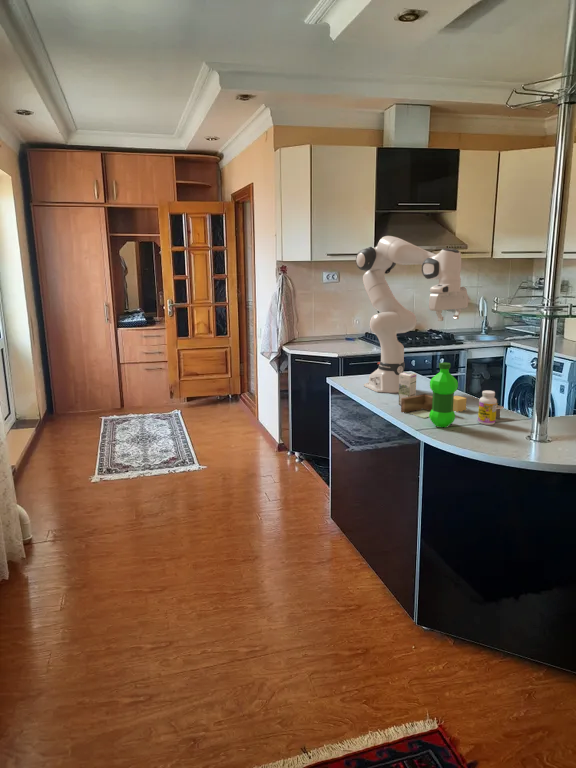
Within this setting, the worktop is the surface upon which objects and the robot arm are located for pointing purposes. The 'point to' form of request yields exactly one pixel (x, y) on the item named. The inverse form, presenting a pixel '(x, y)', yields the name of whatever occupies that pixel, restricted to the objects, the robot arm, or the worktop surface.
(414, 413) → the pad
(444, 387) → the plastic bottle
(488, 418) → the supplement bottle
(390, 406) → the worktop surface
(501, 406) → the platform
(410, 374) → the syrup box
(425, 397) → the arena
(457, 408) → the block
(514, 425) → the worktop surface
